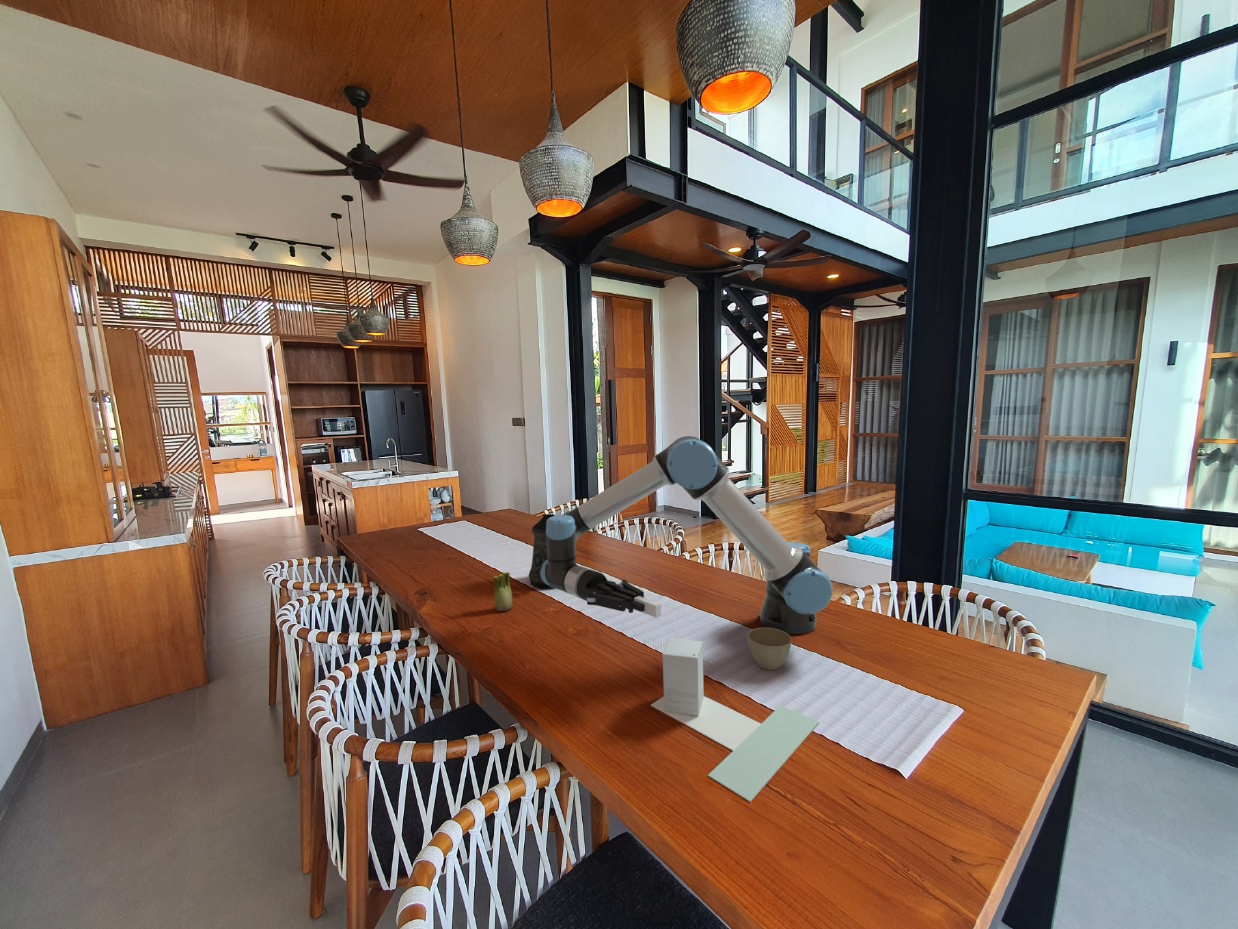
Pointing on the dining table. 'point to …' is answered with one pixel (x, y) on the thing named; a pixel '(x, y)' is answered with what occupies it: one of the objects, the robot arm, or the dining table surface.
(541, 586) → the beer stein
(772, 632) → the flower pot
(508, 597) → the fennel bulb
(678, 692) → the supplement box
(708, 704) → the t mat
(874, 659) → the dining table surface
